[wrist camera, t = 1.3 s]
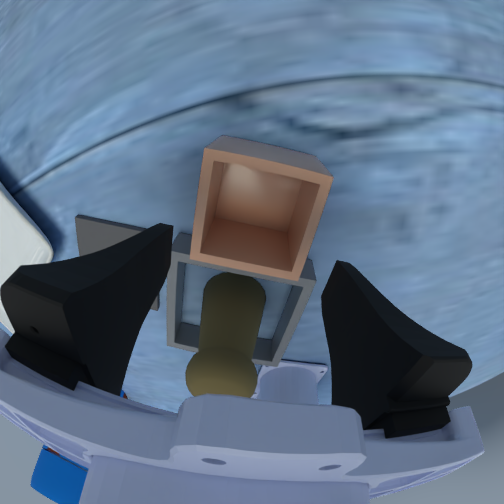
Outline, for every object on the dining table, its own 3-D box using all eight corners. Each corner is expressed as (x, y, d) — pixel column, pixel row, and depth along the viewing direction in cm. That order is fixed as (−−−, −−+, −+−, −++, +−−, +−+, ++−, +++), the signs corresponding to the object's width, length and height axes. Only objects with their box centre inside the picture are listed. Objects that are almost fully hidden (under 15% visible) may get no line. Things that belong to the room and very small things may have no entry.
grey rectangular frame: (277, 345, 30) (277, 367, 27) (174, 325, 29) (166, 345, 26) (311, 260, 24) (316, 280, 21) (179, 232, 23) (168, 250, 20)
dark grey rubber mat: (159, 307, 28) (157, 310, 27) (88, 287, 27) (85, 290, 27) (160, 231, 23) (158, 234, 23) (78, 214, 23) (74, 217, 22)
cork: (207, 319, 28) (185, 411, 19) (199, 271, 25) (165, 369, 16) (265, 320, 28) (262, 417, 18) (266, 272, 25) (262, 377, 15)
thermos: (134, 409, 43) (102, 519, 21) (87, 393, 43) (50, 493, 21) (119, 380, 37) (74, 512, 16) (68, 363, 37) (17, 477, 16)
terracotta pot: (291, 237, 23) (298, 281, 18) (207, 219, 22) (189, 259, 17) (315, 156, 19) (333, 177, 14) (222, 135, 19) (204, 148, 14)
